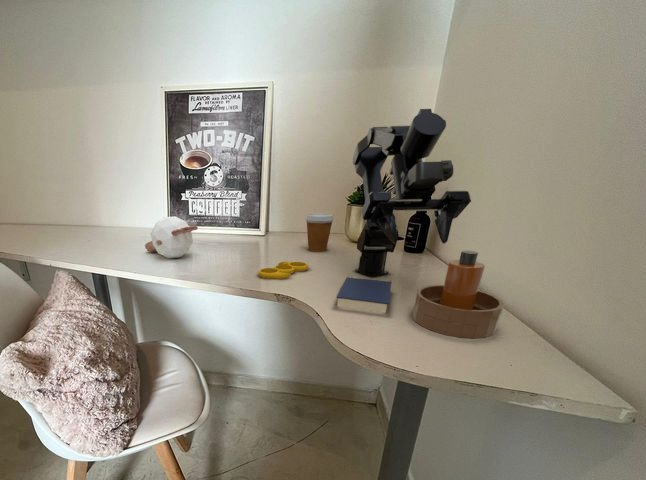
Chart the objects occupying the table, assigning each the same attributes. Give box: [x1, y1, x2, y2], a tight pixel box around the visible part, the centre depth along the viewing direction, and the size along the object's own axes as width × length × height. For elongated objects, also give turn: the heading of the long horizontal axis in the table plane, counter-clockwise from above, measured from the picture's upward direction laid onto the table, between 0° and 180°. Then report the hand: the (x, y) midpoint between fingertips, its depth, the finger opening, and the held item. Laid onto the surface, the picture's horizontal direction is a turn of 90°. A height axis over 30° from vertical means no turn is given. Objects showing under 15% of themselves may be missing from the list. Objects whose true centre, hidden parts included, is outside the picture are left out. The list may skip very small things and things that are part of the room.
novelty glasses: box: [258, 261, 309, 280], centre depth 94 cm, size 17×2×10 cm
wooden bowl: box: [411, 284, 505, 339], centre depth 61 cm, size 13×13×6 cm
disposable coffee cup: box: [305, 213, 334, 253], centre depth 116 cm, size 10×10×12 cm
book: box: [336, 276, 392, 314], centre depth 73 cm, size 14×10×3 cm
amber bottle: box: [440, 250, 486, 310], centre depth 59 cm, size 5×5×13 cm
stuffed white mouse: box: [144, 216, 198, 259], centre depth 110 cm, size 14×25×14 cm, turn 51°
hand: (420, 242), depth 63 cm, fingers open, 9 cm apart
